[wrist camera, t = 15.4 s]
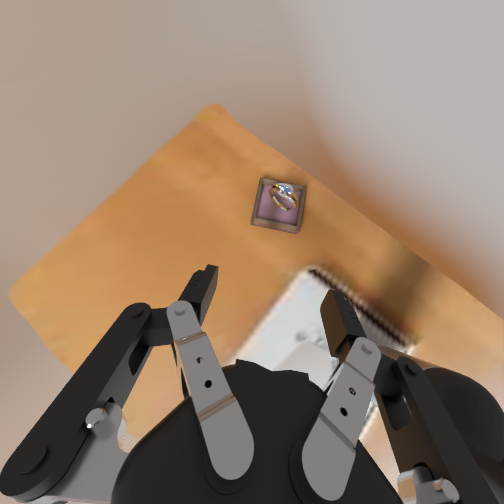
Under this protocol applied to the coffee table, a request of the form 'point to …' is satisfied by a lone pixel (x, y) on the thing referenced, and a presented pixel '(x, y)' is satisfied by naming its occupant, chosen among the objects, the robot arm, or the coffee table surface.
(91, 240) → the coffee table surface
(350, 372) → the robot arm
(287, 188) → the ring
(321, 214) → the coffee table surface
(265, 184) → the jewellery tray
